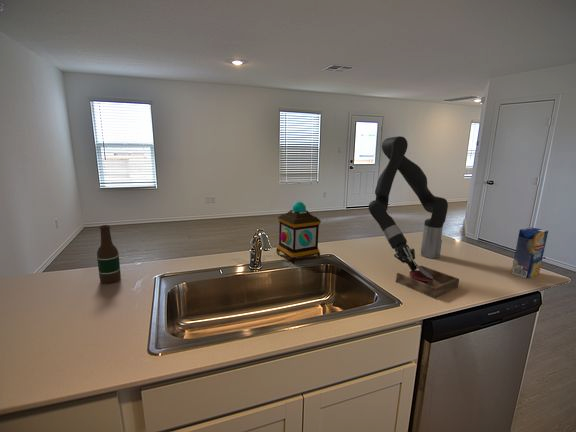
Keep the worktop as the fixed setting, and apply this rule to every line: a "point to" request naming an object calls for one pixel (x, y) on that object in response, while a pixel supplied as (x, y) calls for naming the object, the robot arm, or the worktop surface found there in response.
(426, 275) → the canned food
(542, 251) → the beverage box
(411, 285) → the box
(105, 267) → the beer bottle
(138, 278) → the worktop surface
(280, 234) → the decorative lantern
